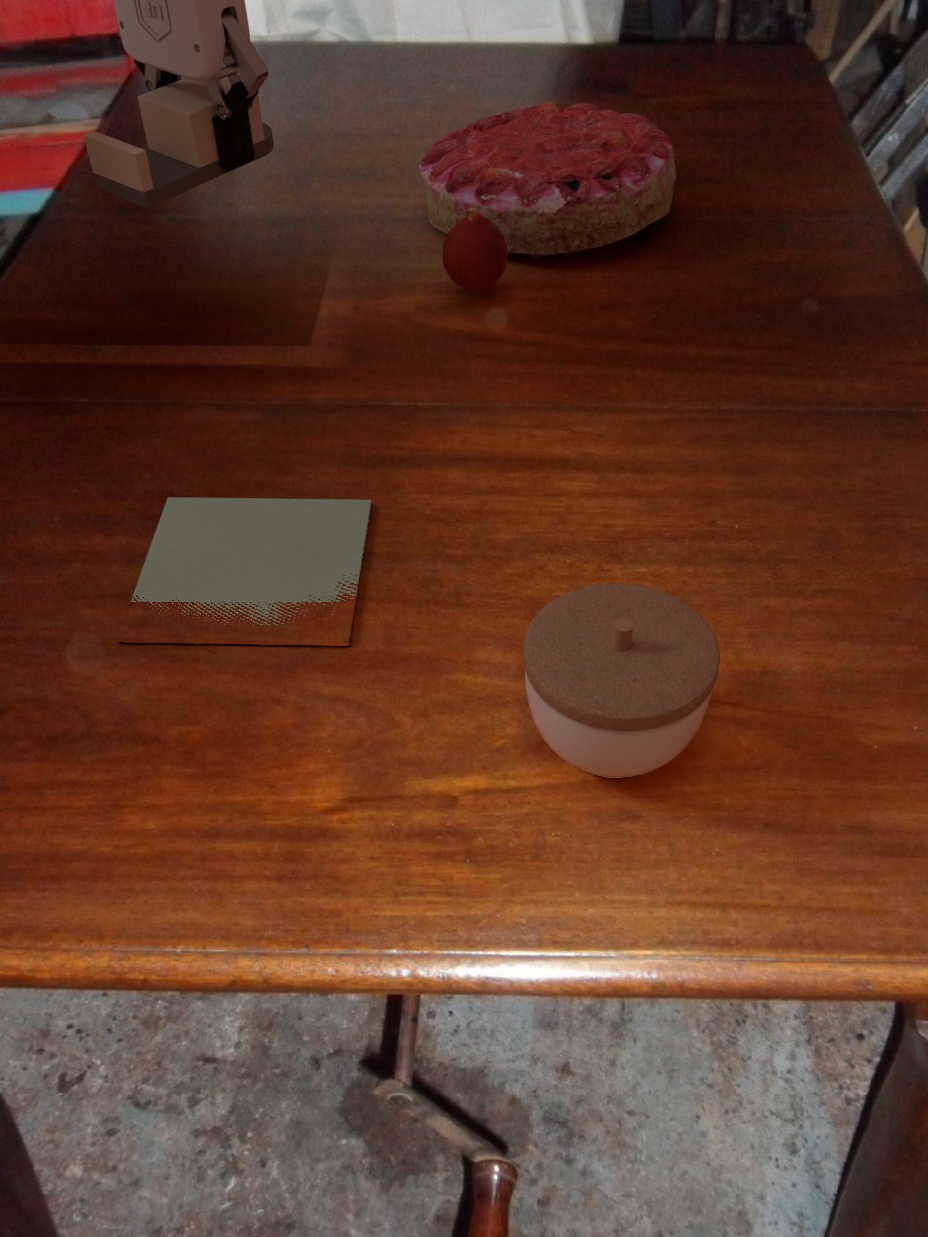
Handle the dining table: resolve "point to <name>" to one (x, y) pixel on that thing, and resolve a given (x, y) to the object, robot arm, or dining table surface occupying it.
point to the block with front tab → (169, 145)
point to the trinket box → (619, 677)
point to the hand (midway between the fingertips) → (208, 152)
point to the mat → (254, 553)
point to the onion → (474, 253)
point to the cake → (552, 176)
